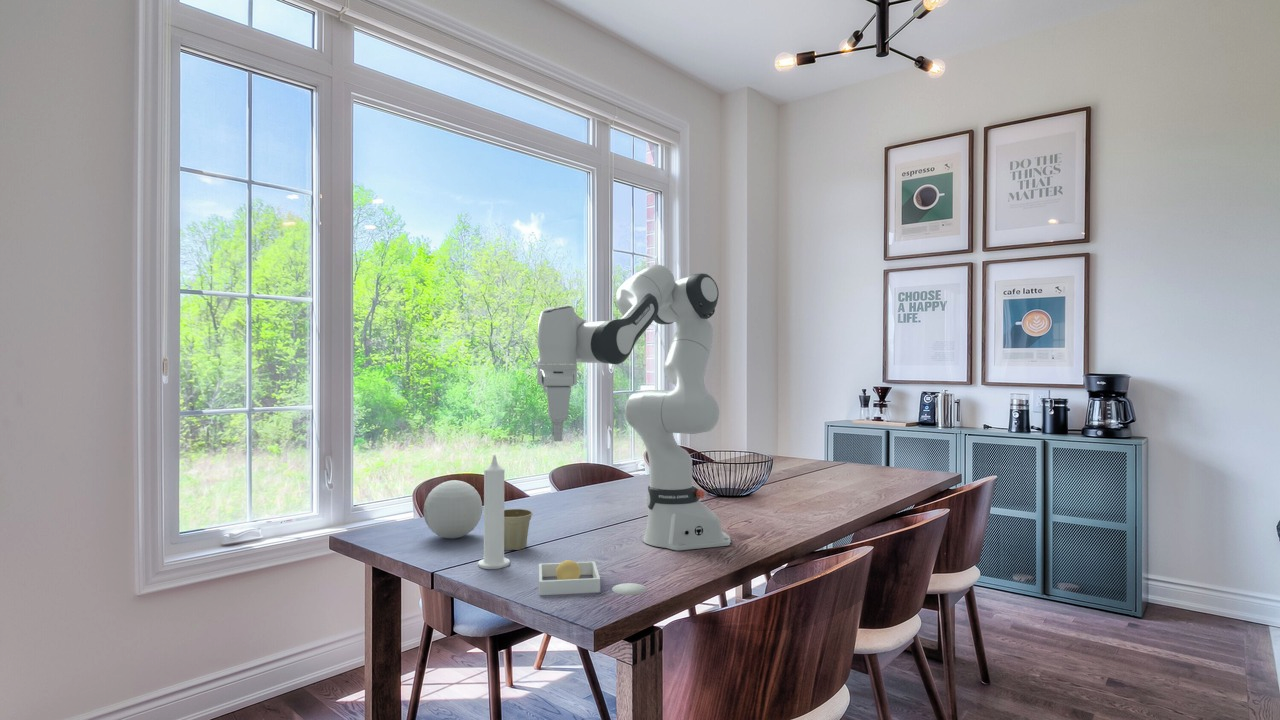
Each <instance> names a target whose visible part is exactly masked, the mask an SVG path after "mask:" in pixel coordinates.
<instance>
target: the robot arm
mask: <svg viewBox="0 0 1280 720" xmlns="http://www.w3.org/2000/svg"><path fill="white" fill-rule="evenodd" d="M718 301H719V287H718V284H717V283H716V281H715V280H714V278H712V276H711V275H709V274H707V273H703V272H702V273H701V272H700V273H693V274H691V275H690V276H686V277H682V278H679V279H677V280H676V279H675V277H674V274H673V273H672V271H671V270H670V269H669V268H668V267H666V266H664V265H662V264H653V265H649V266H647V267H645V268H643V269H641V270H639V271H637V272H636V273H634V274H632V275H631V276H630V277H629V278H627V279H626V280H625V281H624V282H622V284H621V285H620V286H619V288H617V290H616V293H615V302H616V303H615V304H616V306H617V309H618V311H619V313H621V314H622V315H621V316H622V317H621V318H619V319H618V318H617V319H609V320H599V321H598V320H597V321H587V320H586V319H583V318H582V317H581V316H579V315H578V314H577V312H575V307H573V306H572V305H559V306H549V307H546V308H543V310H542V311H540V315H539V319H538V323H537V324H538V325H537V348H538V360H537V365H536V366H537V371H536V372H537V377H536V378H537V379H536V380H537V383H536V384H537V385H539V386H542V392H543V393H546V396H547V397H546V398H547V413H548V417H549V420H550V421H551V429H552V430H551V431H552V436H553V440H554V441H555V442H562V441H563V430H564V429H563V428H564V422H567V421H568V419H569V418H568V417H569V411H570V399H571V393H572V387H574V386H575V385H577V384H578V378H577V377H578V375H577V374H578V369H577V368H578V363H584V364H585V363H586V364H588V363H589V364H590V363H591V364H592V363H593V364H594V363H595V364H597V363H598V364H599V363H601V364H609V365H619V364H622V363H624V362H625V361H626V360H627V359H628V358H629V356H630V355H631V353H632V351H633V348H634V346H635V345H636V343H637V341H638V340H639V339H640V337H641V336H642V335H643V334H644V332H645V331H646V330H647V329H648V328H649V327H650V326H651V324H652V323H653V322H655V323H656V324H658V325H671V324H673V323H675V324H676V328H675V329H676V331H675V333H674V336H673V338H672V341H671V343H670V347H669V349H668V353H667V355H666V359H665V362H664V364H663V372H664V375H665V376H664V377H666V379H667V380H668V381H669V382H670V383H671V384H672V385H674V386H675V387H674V389H670V390H663V389H662V390H660V389H659V390H658V389H648V390H641V391H638V392H634V393H632V394H631V395H630V396H629V397H628V398H627V400H626V403H625V407H624V415H625V418H626V421H627V423H628V425H629V426H630V427H631V428H632V429H633V430H635V432H636V433H637V434H638V435H639V437H640V438H641V440H642V442H643V445H644V446H645V448H646V449H645V450H646V452H647V458H648V468H649V485H648V487H647V491H646V493H647V499H646V501H647V508H648V512H647V520H646V521H647V523H646V527H645V532H644V535H643V539H642V541H643V542H644V543H645V544H647V545H650V546H653V547H659V548H663V549H669V550H673V551H689V550H697V549H705V548H717V547H725V546H730V545H731V544H730V543H732V541H731V537H730V535H729V534H728V533H726V532H725V531H723V528H722V523H721V519H720V518H719V516H718V515H717V514H716V513H715V512H714V511H713V510H711V508H709V507H708V506H707V505H705V504H704V503H703V502H702V501H700V499H704V497H705V495H706V492H705V491H704V490H702V489H699V488H697V487H695V486H693V459H692V456H691V455H690V453H689V451H687V449H684V448H683V447H681V446H680V445H679V443H677V441H676V440H675V437H674V436H675V435H674V434H685V435H686V434H687V435H696V434H702V433H708V432H711V431H712V430H713V429H714V428H715V427H716V425H717V424H718V421H719V418H720V407H719V404H718V402H717V400H716V399H715V397H714V396H713V395H712V394H711V393H710V392H709V391H708V390H707V388H706V386H705V375H706V369H707V365H708V363H709V359H710V355H711V351H712V347H713V346H712V345H713V339H714V338H713V336H714V329H713V328H714V327H713V326H712V323H711V322H710V320H709V319H710V318H711V317H712V316H713V315H714V314H715V311H716V306H717V305H718Z"/></svg>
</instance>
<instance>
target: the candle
mask: <svg viewBox="0 0 1280 720" xmlns="http://www.w3.org/2000/svg"><path fill="white" fill-rule="evenodd" d="M491 459H492V460H491V462H490V464H489V465H488V466H487V467H485V469H484V470H483V472H484V473H483V474H484V475H483V479H484V481H483V482H484V484H483V486H484V487H483V493H484V494H483V559H480V560H479V561H478V562H477V566H478V567H479V568H480V569H484V570H498V569H500V570H501V569H504V568H506V567H508V566H510V563H511V561H510V559H508V557H507V558H506V557H505V550H504V510H505V468H504V467H502V466H501V465H500V464H499V463H498V460H497V456H496V454H493V455H492V458H491Z"/></svg>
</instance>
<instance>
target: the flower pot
mask: <svg viewBox="0 0 1280 720" xmlns="http://www.w3.org/2000/svg"><path fill="white" fill-rule="evenodd" d="M533 513H534V512H533V511H532V510H530V509H525V508H508V509H504V551H512V550H515V551H520V550H523V549H525V548H526V547H527V545H528V543H527V542H528V537H529V536H528V535H529V529H530V521H531V519H532V515H533Z"/></svg>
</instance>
